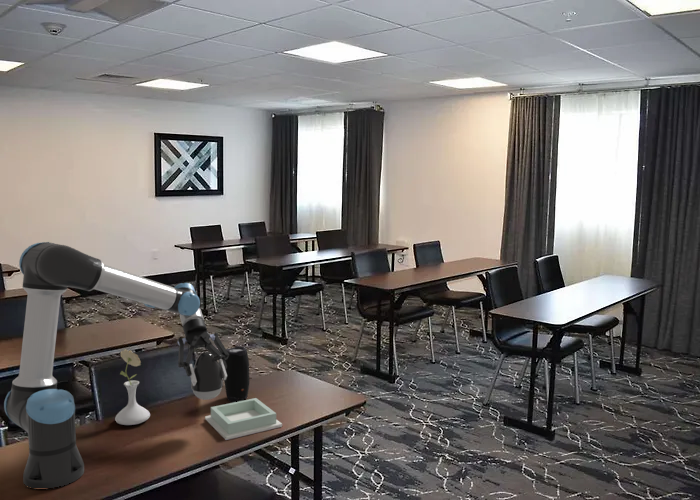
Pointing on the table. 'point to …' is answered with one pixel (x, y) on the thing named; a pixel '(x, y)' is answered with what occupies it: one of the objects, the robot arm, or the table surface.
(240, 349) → the portable speaker
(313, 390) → the table surface
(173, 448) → the table surface
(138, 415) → the flower in vase
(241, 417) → the holder
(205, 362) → the black rounded tall piece
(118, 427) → the table surface
